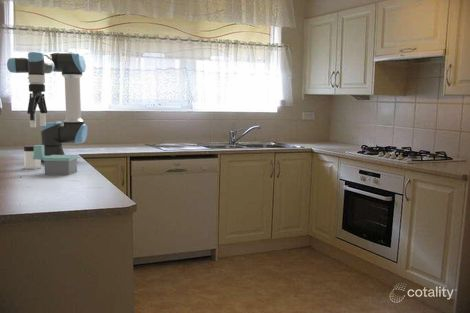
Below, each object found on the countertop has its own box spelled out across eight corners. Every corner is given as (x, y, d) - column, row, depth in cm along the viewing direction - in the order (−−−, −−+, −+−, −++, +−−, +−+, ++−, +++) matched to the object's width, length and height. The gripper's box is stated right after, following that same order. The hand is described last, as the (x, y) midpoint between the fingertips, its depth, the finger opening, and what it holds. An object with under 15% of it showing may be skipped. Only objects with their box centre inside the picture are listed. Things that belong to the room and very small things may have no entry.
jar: (43, 166, 275) (42, 145, 273) (39, 168, 267) (38, 146, 265) (26, 166, 274) (25, 145, 272) (21, 169, 266) (20, 146, 264)
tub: (54, 171, 259) (53, 157, 258) (77, 171, 259) (76, 158, 258) (44, 174, 247) (44, 160, 246) (68, 174, 247) (68, 160, 246)
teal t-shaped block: (39, 159, 259) (39, 144, 258) (78, 159, 258) (77, 144, 257) (29, 162, 246) (28, 146, 245) (69, 163, 245) (68, 146, 245)
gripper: (38, 84, 260) (39, 125, 262) (19, 82, 235) (20, 127, 238) (52, 84, 260) (54, 125, 263) (35, 82, 236) (36, 127, 238)
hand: (38, 126), depth 250 cm, fingers open, 13 cm apart
